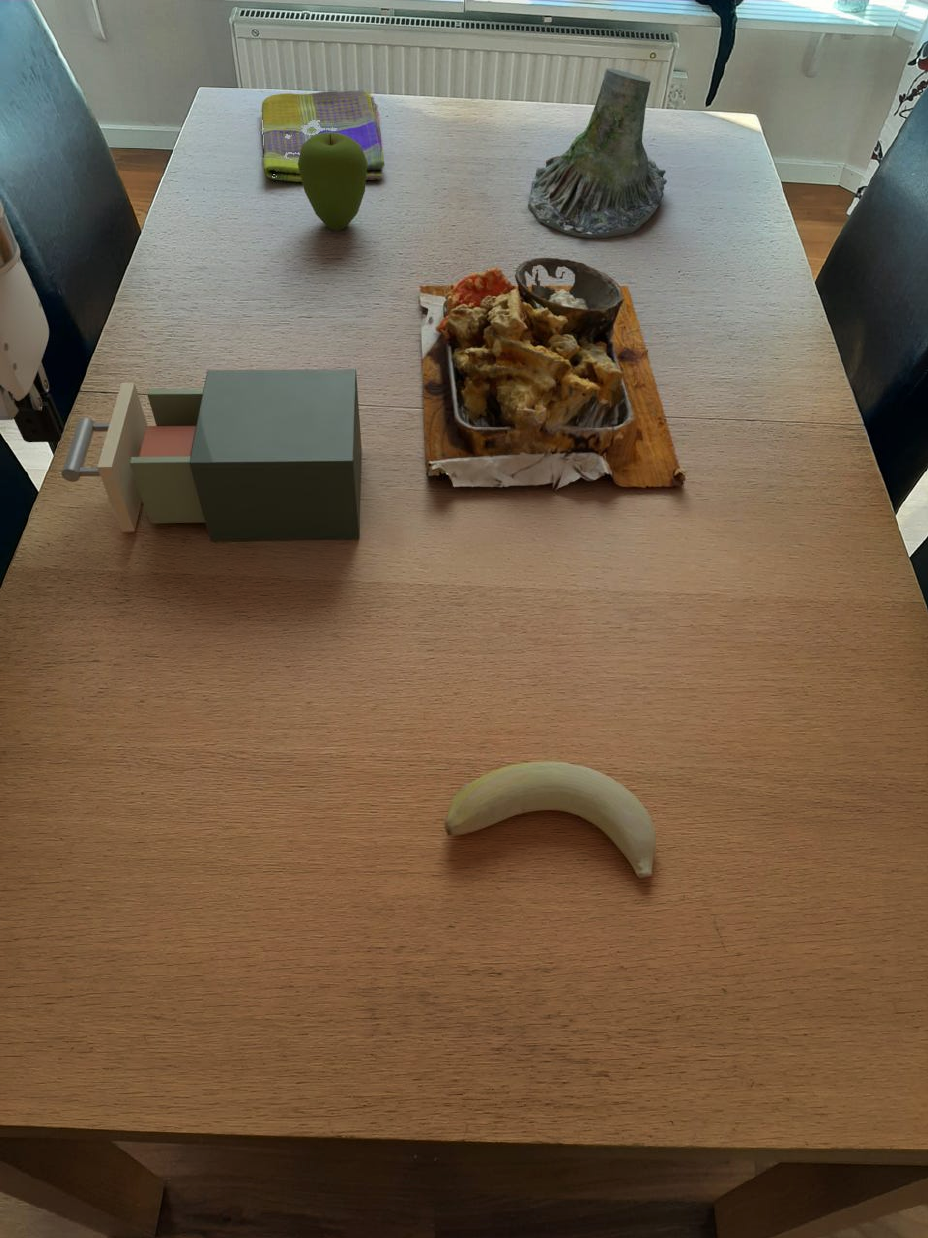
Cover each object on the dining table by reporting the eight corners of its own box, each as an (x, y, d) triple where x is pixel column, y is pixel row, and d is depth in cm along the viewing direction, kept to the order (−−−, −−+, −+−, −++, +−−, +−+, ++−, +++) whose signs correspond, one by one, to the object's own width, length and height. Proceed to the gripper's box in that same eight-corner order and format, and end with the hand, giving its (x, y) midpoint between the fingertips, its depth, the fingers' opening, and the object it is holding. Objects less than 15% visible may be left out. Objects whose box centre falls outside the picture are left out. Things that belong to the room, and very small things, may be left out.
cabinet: (210, 541, 83) (188, 462, 75) (225, 449, 90) (207, 369, 83) (359, 539, 83) (353, 461, 76) (361, 448, 91) (356, 368, 84)
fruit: (460, 757, 70) (461, 735, 67) (656, 793, 68) (665, 772, 66) (441, 843, 65) (442, 823, 63) (650, 883, 64) (659, 864, 61)
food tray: (418, 291, 109) (418, 204, 101) (626, 291, 110) (643, 206, 102) (426, 494, 87) (426, 404, 79) (685, 490, 89) (712, 403, 80)
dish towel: (259, 185, 124) (256, 164, 121) (262, 107, 138) (260, 88, 136) (387, 182, 125) (386, 162, 123) (377, 106, 140) (376, 86, 138)
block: (150, 496, 83) (138, 459, 80) (157, 462, 86) (146, 425, 82) (199, 495, 83) (189, 458, 80) (205, 462, 86) (196, 425, 83)
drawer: (73, 532, 82) (44, 467, 75) (98, 448, 89) (73, 382, 82) (260, 529, 83) (247, 465, 76) (270, 446, 90) (259, 381, 83)
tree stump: (494, 208, 123) (519, 55, 112) (573, 193, 136) (603, 55, 125) (606, 251, 115) (645, 91, 104) (679, 230, 128) (720, 87, 117)
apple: (383, 228, 118) (380, 136, 109) (330, 249, 114) (322, 156, 105) (344, 201, 122) (338, 110, 113) (291, 220, 118) (280, 128, 109)
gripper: (-64, 190, 70) (22, 383, 85) (-130, 301, 61) (-21, 496, 75) (35, 189, 70) (104, 382, 85) (-16, 300, 61) (70, 494, 76)
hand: (45, 435), depth 80 cm, fingers closed
